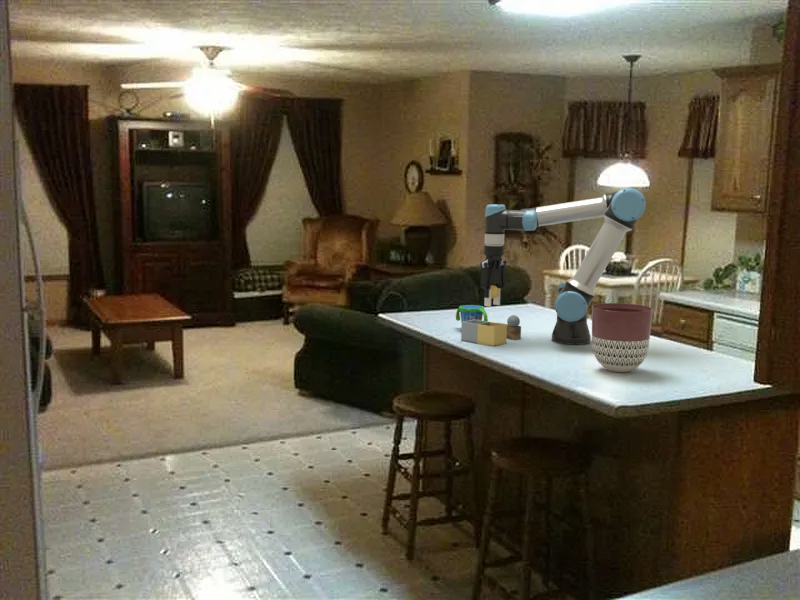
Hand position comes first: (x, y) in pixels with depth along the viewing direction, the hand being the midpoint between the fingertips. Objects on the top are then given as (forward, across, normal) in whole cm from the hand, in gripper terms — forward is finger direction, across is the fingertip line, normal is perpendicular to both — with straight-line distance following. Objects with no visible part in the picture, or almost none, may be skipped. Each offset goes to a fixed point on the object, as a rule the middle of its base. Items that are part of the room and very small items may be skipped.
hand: (492, 305), depth 319 cm
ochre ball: (-3, 0, 0) cm, 3 cm away
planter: (+15, +7, +59) cm, 61 cm away
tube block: (+15, 0, -3) cm, 15 cm away
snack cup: (+15, -16, -23) cm, 31 cm away
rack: (+15, -14, -4) cm, 21 cm away
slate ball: (+10, -14, 0) cm, 18 cm away
